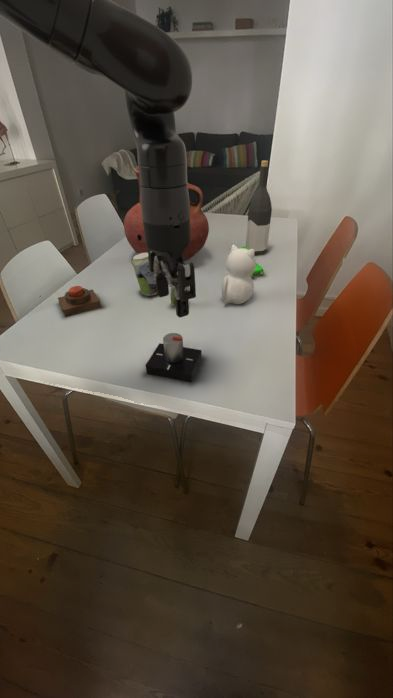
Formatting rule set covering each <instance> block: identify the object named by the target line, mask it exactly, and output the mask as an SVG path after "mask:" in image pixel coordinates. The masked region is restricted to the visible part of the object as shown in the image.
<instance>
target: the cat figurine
mask: <svg viewBox="0 0 393 698" xmlns="http://www.w3.org/2000/svg"><path fill="white" fill-rule="evenodd" d="M238 248H240V249H238ZM254 254H255V251H254V249H250V250H247V249H244V248H241V247H237V245H236V244H234V243H233V244H232V246H231V247H230V254H229V255H228V256H227V259H226V268H227V271H228V272H229V273H228V274H227V275H226V276H225V277H224V278H223V279H222V282H221V297H222V300H223V301H224V303H226V304H230V303H231V304H233V305H241V304H244V303H246V302H247V301H248V300H249V299H250V298H252V296H253V293H254V289H255V286H254V285H255V284H254V281H253V279H252V278H253V277H252V278H251V277H250V276H249V275H251V274H252V273H253V272H254V270H255V268H256V263H257V261H256V258H255V255H254Z"/></svg>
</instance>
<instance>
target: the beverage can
mask: <svg viewBox="0 0 393 698" xmlns="http://www.w3.org/2000/svg"><path fill="white" fill-rule="evenodd" d="M131 263H132V267H133V270H134V273H135V277H136V279H137V284H138V286H139V289H140V293H141V295H145V296H149V297H151V296H154V295H156V294H157V286H156V279H155V278H154V276H153V273H154V272H151V271H150V267H149V256H148V253H140V254H138V253H137V254H135V255H133V256H132V261H131Z"/></svg>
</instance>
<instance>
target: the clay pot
mask: <svg viewBox="0 0 393 698" xmlns="http://www.w3.org/2000/svg"><path fill="white" fill-rule="evenodd" d="M133 171H134V174H135V176H136V179H137V181H138V187H139V189H138V190H139V192H138V193H139V202H138V203H136V204H135V205H133V206H132V207H131V208H130V209H128V211H127V212H126V214H125V216H124V220H123V230H124V235H125V238H126V240H127V242H128V244H129V246H130V247H131V249H133V251H135V252H136V253H137V254H140V253H148V247H147V246H146V244H145V236H144V227H143V219H142V210H141V187H140V177H139V168H138V165H137V166H135V167H134V169H133ZM187 185H188V192H189V191H192V192H195V194H196V195H197V202H196V203H194V202H192V201H191V200H189V201H190V234H191V243H190V245H189V246H188V247H187V248H186V249H185V250H184V251H183V256H184V260H185V261H187V260H189V259H192V258H193V257H194V256H196V255H198V253H199V252H200V251H201V250H202V249H203V247H204V246H205V244H206V242H207V240H208V236H209V233H210V225H209V221H208V218H207V216H206V214H205V213H204V211H203V210H202V209H201V208H202V204H203V200H204V195H203V194H204V193H203V191H202V190H201V188H200V187H199V186H196V185H195V184H191V183H189V182H188V181H187ZM154 262H155V260H154Z"/></svg>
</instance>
